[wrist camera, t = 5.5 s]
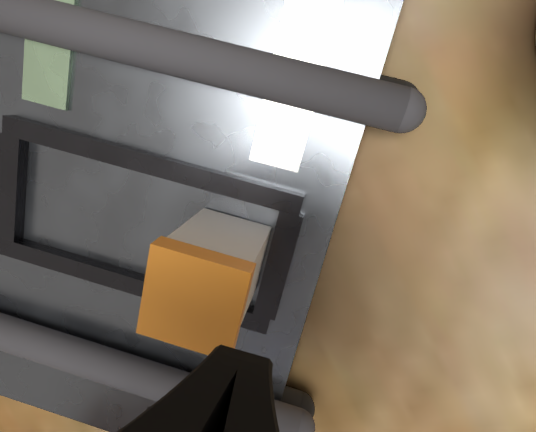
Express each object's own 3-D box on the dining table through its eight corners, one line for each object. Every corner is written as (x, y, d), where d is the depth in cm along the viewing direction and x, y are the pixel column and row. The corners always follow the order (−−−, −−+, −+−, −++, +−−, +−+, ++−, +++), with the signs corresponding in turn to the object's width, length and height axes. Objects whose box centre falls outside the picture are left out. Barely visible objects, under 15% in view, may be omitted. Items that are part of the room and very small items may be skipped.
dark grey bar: (310, 413, 21) (307, 465, 18) (-29, 306, 22) (-85, 336, 19) (320, 384, 20) (318, 432, 17) (-29, 275, 22) (-86, 302, 19)
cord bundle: (310, 413, 21) (307, 465, 18) (-53, 298, 22) (-112, 327, 19) (421, 86, 16) (442, 81, 13) (-55, -29, 17) (-133, -57, 14)
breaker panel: (260, 456, 22) (253, 491, 20) (-3, 369, 23) (-34, 394, 21) (407, -27, 15) (420, -48, 13) (18, -113, 16) (-27, -144, 14)
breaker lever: (257, 292, 17) (229, 362, 13) (188, 272, 18) (136, 332, 13) (274, 225, 16) (251, 273, 12) (201, 204, 17) (150, 244, 12)
